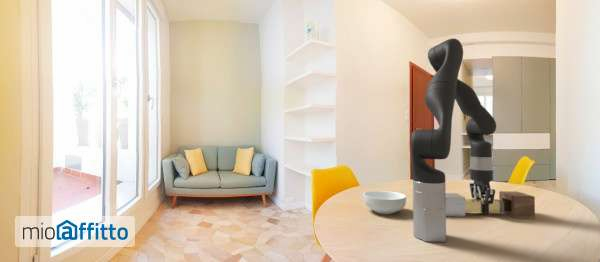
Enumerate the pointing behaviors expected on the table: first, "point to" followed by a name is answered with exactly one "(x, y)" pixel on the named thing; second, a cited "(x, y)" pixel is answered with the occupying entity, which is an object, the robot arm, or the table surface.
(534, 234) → the table surface
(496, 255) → the table surface
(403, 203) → the cereal bowl
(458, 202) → the sleeve
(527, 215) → the socket
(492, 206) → the rod
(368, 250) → the table surface
